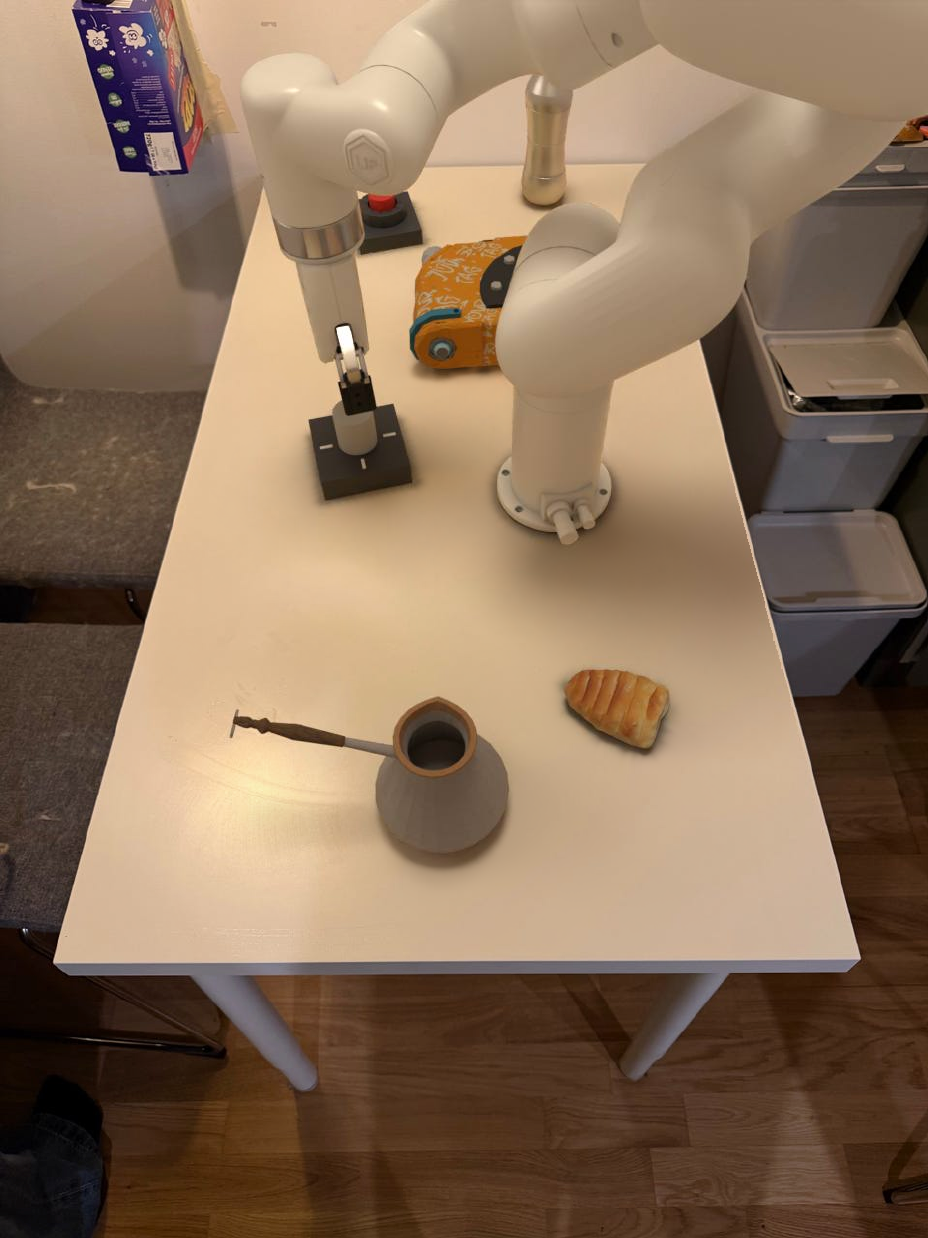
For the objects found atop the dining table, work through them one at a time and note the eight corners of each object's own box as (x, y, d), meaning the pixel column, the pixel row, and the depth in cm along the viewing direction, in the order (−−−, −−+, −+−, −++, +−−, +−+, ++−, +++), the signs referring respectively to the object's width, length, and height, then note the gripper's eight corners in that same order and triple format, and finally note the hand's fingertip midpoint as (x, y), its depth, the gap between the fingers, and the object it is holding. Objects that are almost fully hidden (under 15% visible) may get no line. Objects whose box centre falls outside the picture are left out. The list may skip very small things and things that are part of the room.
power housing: (422, 243, 119) (420, 217, 116) (360, 254, 118) (356, 227, 115) (409, 205, 124) (406, 178, 121) (349, 214, 124) (345, 188, 120)
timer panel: (412, 483, 95) (410, 463, 92) (325, 500, 94) (320, 481, 91) (395, 422, 100) (393, 402, 97) (312, 438, 99) (307, 418, 96)
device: (401, 213, 109) (630, 197, 109) (407, 270, 116) (622, 254, 116) (406, 326, 97) (665, 307, 97) (413, 382, 104) (654, 364, 104)
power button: (397, 210, 118) (396, 198, 116) (372, 214, 117) (370, 202, 116) (392, 196, 119) (391, 184, 118) (367, 200, 119) (366, 188, 118)
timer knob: (380, 451, 93) (375, 419, 89) (341, 458, 93) (334, 426, 89) (374, 423, 96) (368, 391, 92) (335, 431, 95) (328, 398, 91)
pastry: (553, 720, 78) (556, 701, 75) (577, 662, 81) (581, 642, 78) (651, 756, 76) (658, 738, 73) (672, 695, 79) (679, 675, 76)
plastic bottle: (543, 180, 127) (551, 31, 110) (574, 199, 124) (587, 48, 107) (511, 197, 125) (514, 47, 108) (542, 216, 122) (550, 65, 105)
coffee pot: (510, 741, 77) (513, 659, 64) (506, 866, 71) (509, 802, 58) (281, 733, 78) (239, 650, 66) (258, 855, 72) (207, 790, 59)
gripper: (265, 180, 77) (306, 335, 91) (288, 291, 67) (330, 445, 82) (345, 164, 77) (374, 321, 92) (379, 273, 68) (405, 428, 82)
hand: (353, 379), depth 87 cm, fingers open, 9 cm apart
